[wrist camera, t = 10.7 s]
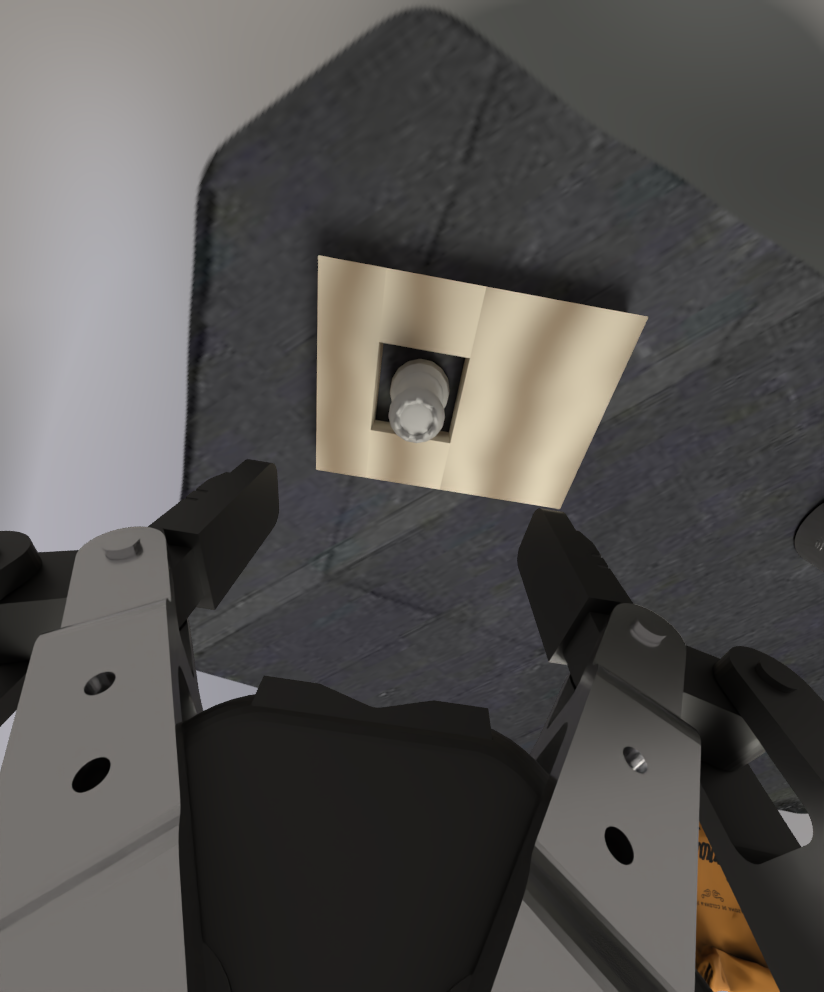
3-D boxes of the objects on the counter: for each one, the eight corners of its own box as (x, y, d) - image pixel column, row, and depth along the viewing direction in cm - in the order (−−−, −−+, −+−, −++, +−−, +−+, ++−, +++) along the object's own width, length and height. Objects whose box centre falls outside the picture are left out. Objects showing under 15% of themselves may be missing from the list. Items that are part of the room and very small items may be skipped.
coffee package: (611, 685, 43) (755, 986, 24) (675, 715, 46) (847, 1006, 27) (556, 717, 48) (640, 992, 29) (617, 743, 50) (730, 1008, 31)
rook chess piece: (378, 388, 25) (359, 420, 18) (420, 343, 24) (416, 360, 17) (419, 429, 27) (415, 472, 20) (461, 389, 25) (473, 422, 18)
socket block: (627, 315, 22) (648, 316, 20) (550, 493, 29) (559, 508, 27) (329, 260, 21) (318, 255, 19) (324, 456, 28) (316, 469, 26)
